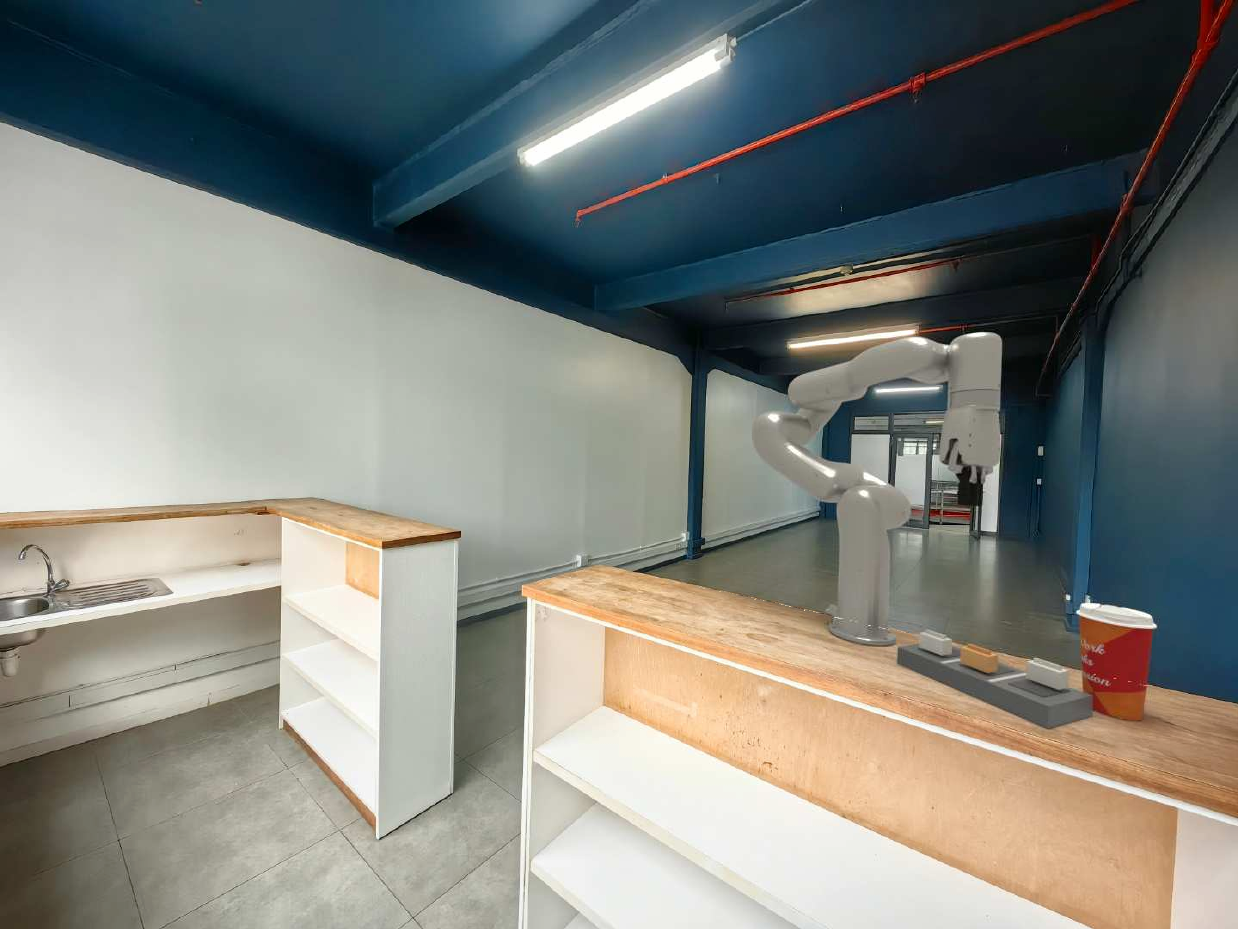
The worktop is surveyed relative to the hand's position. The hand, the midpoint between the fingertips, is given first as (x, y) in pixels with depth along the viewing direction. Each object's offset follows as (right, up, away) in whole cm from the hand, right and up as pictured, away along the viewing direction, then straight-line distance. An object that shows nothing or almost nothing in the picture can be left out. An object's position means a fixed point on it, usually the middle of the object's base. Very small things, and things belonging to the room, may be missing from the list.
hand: (969, 505), depth 83 cm
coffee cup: (+11, -30, -14) cm, 34 cm away
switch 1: (-8, -25, -2) cm, 26 cm away
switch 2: (-5, -25, -8) cm, 27 cm away
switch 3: (+1, -26, -13) cm, 29 cm away
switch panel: (-4, -29, -8) cm, 30 cm away
